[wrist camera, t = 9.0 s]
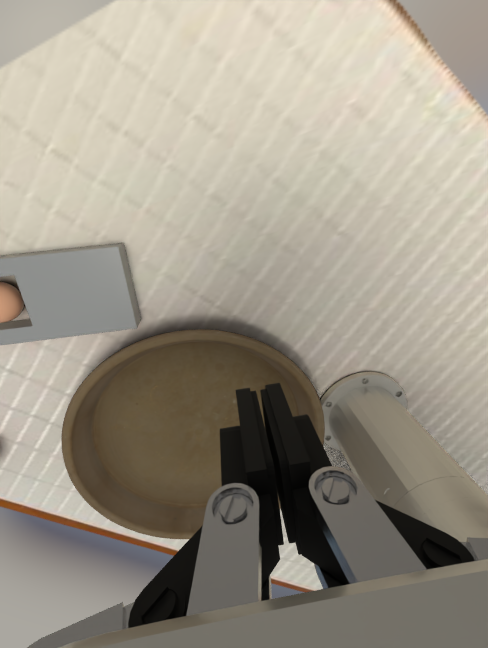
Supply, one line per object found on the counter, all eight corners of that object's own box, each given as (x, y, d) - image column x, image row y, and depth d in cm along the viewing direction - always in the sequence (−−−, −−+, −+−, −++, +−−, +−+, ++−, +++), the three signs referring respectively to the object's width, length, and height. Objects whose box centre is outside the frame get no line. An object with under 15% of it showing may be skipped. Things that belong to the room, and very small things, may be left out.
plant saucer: (360, 399, 44) (377, 420, 40) (224, 537, 51) (226, 568, 47) (165, 262, 34) (159, 272, 30) (29, 457, 41) (9, 486, 37)
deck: (141, 319, 36) (137, 328, 34) (-10, 338, 35) (-26, 348, 32) (123, 242, 33) (118, 246, 30) (-44, 260, 32) (-63, 265, 29)
